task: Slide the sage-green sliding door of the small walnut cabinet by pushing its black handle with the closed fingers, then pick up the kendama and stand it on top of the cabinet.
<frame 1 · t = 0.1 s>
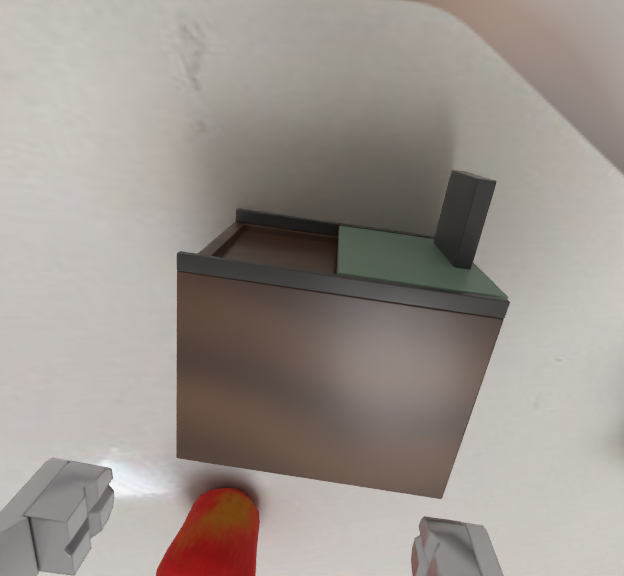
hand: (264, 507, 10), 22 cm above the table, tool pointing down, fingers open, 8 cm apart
door: (414, 218, 24), point 6 cm above the table, slide at 0.0 cm
apple: (230, 501, 42), on the table
cabinet: (328, 306, 33), on the table
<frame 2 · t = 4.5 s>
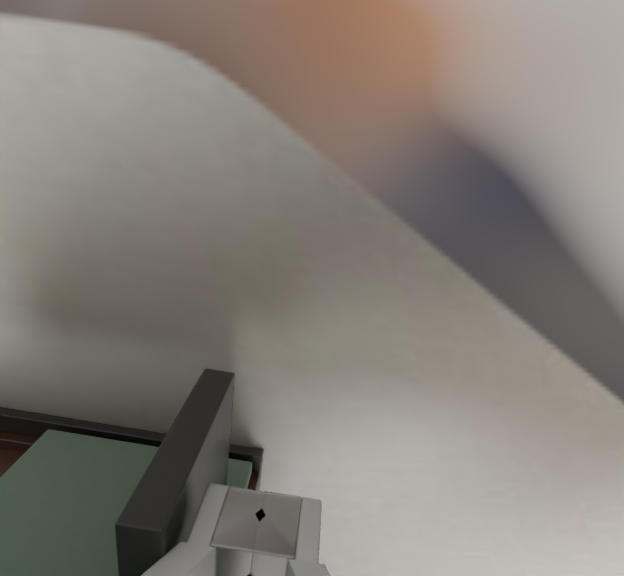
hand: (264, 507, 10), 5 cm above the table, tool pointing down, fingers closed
door: (55, 530, 10), point 6 cm above the table, slide at 0.5 cm, touching gripper
cabinet: (88, 532, 19), on the table
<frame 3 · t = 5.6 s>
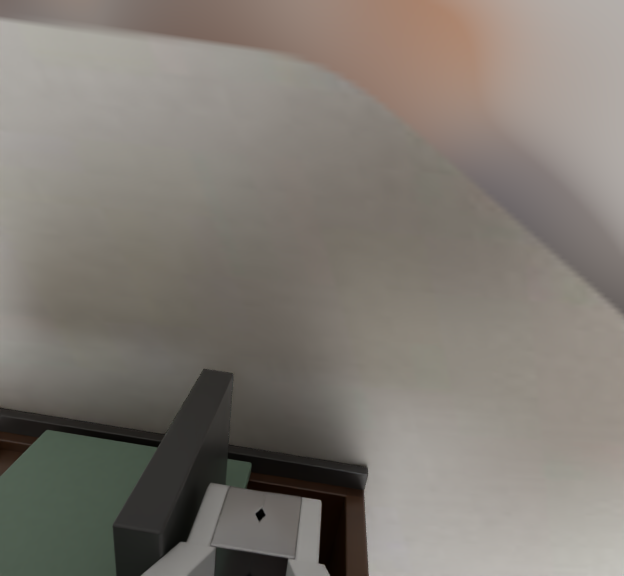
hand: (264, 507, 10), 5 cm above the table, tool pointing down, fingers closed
door: (53, 531, 10), point 6 cm above the table, slide at 4.9 cm, touching gripper
cabinet: (176, 547, 19), on the table
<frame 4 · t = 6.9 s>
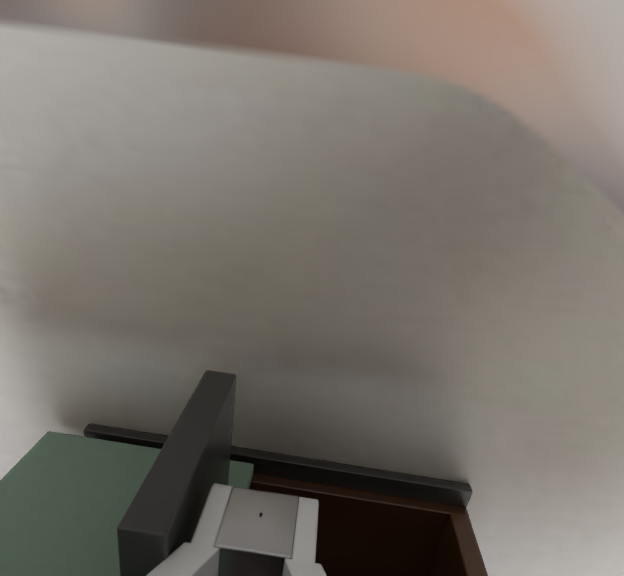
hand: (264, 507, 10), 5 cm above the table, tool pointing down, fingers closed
door: (56, 533, 10), point 6 cm above the table, slide at 9.0 cm, touching gripper
cabinet: (263, 562, 19), on the table
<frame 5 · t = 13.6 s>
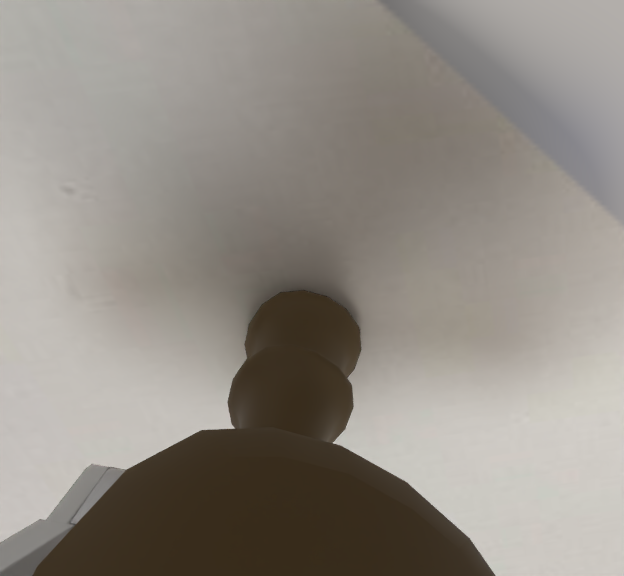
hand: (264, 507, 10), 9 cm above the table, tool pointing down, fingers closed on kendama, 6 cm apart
kendama: (304, 335, 18), on the table, touching arm, gripper
when the fingers open (21 cm above the table, at t = 20.5 s): kendama stays where it is, resting on cabinet.
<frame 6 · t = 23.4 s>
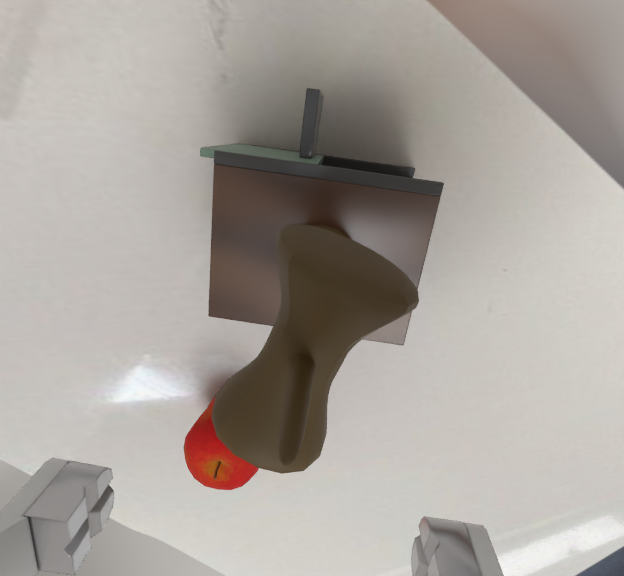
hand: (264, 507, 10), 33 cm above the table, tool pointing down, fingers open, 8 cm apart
door: (273, 123, 32), point 6 cm above the table, slide at 9.0 cm
kendama: (321, 255, 30), point 12 cm above the table, touching cabinet
apple: (241, 402, 50), on the table
cabinet: (322, 226, 41), on the table
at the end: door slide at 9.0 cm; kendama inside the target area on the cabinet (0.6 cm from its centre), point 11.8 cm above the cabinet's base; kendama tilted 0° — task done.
